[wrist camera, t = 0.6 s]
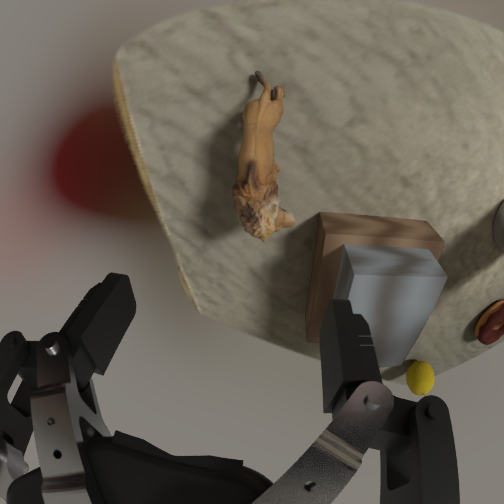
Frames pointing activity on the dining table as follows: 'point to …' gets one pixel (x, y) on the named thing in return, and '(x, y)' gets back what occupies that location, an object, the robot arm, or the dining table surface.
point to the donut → (491, 324)
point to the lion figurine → (260, 167)
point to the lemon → (420, 378)
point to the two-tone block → (377, 278)
